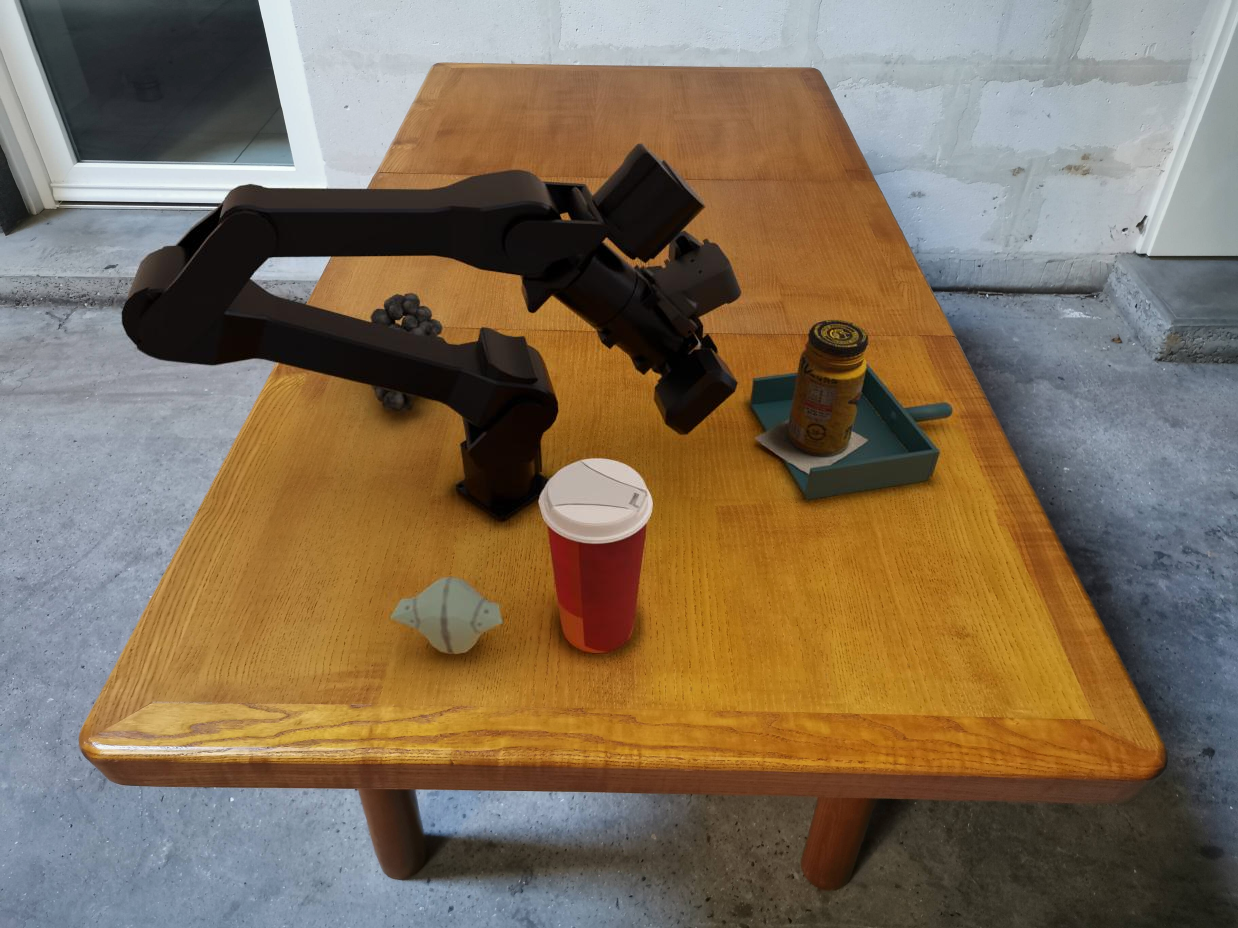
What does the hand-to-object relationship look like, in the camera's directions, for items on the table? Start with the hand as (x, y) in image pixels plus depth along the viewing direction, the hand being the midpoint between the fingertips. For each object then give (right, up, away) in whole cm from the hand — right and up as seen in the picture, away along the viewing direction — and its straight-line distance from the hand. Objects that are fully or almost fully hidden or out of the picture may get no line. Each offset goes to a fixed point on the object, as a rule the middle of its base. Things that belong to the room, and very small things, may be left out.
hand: (728, 392), depth 79 cm
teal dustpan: (+14, -4, +8) cm, 17 cm away
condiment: (+9, -4, +6) cm, 12 cm away
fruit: (-33, +2, +13) cm, 35 cm away
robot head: (-22, -20, -13) cm, 33 cm away
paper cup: (-12, -19, -11) cm, 25 cm away
